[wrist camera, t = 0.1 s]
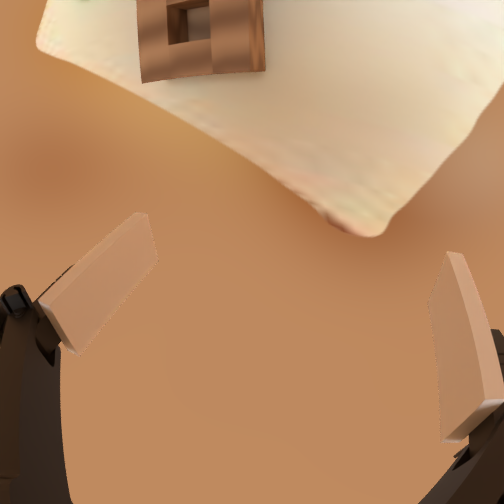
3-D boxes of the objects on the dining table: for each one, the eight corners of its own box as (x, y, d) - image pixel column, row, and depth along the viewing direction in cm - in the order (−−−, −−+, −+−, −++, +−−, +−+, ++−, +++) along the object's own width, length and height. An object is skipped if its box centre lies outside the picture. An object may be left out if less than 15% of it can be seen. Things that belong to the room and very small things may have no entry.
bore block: (162, -9, 29) (136, -15, 24) (261, -27, 25) (245, -41, 20) (167, 79, 37) (141, 83, 32) (265, 71, 33) (250, 71, 28)
